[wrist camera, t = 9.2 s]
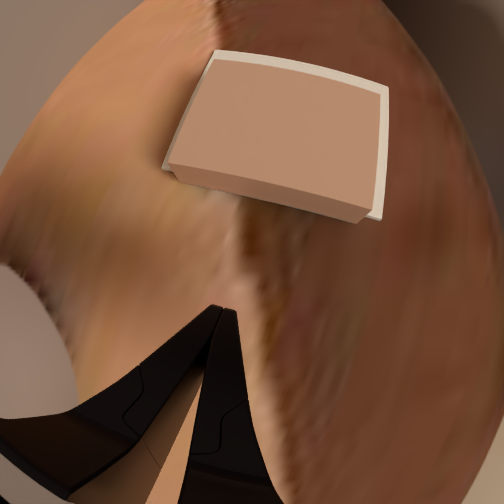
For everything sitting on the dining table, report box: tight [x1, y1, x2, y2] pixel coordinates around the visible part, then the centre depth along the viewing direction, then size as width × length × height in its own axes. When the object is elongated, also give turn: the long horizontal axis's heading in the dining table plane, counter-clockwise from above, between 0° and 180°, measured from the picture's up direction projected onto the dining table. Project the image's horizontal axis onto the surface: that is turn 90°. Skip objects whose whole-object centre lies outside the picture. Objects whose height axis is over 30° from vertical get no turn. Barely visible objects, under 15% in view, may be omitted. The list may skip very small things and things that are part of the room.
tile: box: [167, 59, 380, 224], centre depth 18 cm, size 4×12×9 cm
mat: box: [161, 50, 389, 221], centre depth 21 cm, size 13×16×1 cm
